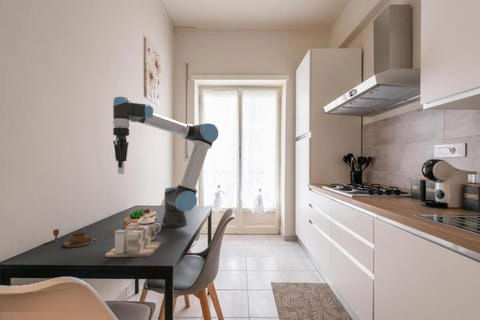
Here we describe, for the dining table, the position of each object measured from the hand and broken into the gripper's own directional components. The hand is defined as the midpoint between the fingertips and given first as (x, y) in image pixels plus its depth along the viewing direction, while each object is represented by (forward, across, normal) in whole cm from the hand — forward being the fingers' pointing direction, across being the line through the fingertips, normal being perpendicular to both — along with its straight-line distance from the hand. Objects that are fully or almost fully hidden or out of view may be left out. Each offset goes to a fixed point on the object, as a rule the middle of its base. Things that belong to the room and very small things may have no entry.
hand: (121, 174), depth 141 cm
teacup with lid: (+33, +2, +15) cm, 36 cm away
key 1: (+31, +26, +11) cm, 42 cm away
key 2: (+31, +13, +12) cm, 36 cm away
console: (+32, +20, +15) cm, 41 cm away
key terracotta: (+31, +20, +13) cm, 39 cm away
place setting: (+33, +8, -18) cm, 39 cm away
